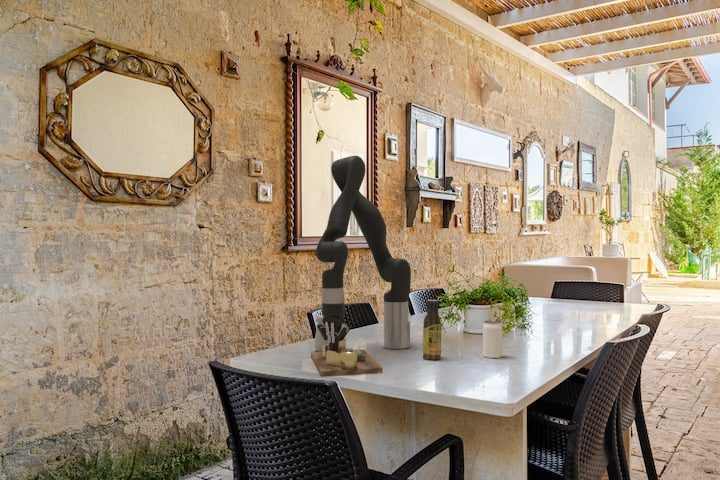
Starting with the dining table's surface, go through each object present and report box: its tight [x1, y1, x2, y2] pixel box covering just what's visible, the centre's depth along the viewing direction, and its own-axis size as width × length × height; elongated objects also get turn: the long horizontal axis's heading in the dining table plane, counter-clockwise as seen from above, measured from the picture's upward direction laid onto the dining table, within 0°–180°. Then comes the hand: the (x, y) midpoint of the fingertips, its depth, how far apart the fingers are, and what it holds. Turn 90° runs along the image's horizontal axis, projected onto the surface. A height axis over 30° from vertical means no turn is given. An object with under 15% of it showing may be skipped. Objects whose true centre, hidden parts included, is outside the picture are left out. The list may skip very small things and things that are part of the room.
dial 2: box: [326, 348, 357, 369], centre depth 183 cm, size 12×5×6 cm, turn 51°
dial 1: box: [322, 337, 347, 357], centre depth 200 cm, size 12×5×6 cm, turn 149°
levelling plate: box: [310, 348, 383, 377], centre depth 193 cm, size 19×29×5 cm, turn 11°
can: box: [482, 320, 503, 359], centre depth 202 cm, size 6×6×12 cm
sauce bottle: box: [422, 299, 443, 361], centre depth 200 cm, size 6×6×20 cm
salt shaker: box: [313, 314, 329, 352], centre depth 216 cm, size 6×6×13 cm
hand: (333, 353), depth 195 cm, fingers closed
